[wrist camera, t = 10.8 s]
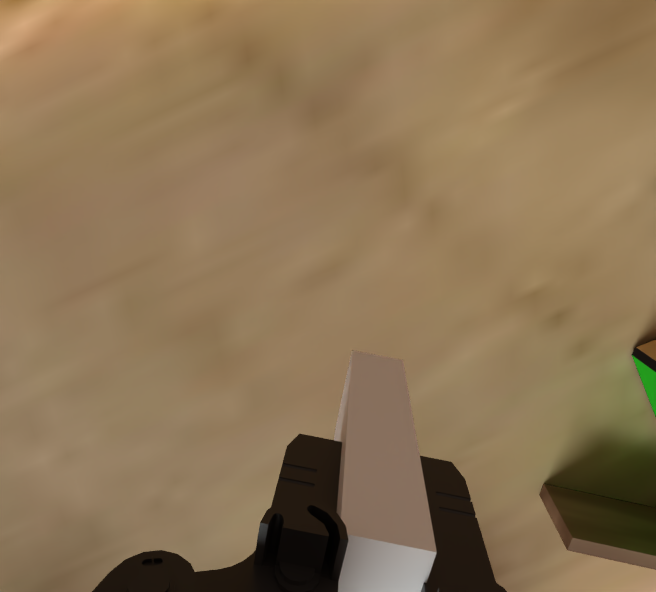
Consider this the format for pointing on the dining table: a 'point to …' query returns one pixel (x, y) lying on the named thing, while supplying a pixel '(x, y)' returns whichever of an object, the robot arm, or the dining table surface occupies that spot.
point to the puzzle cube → (647, 369)
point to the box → (603, 525)
